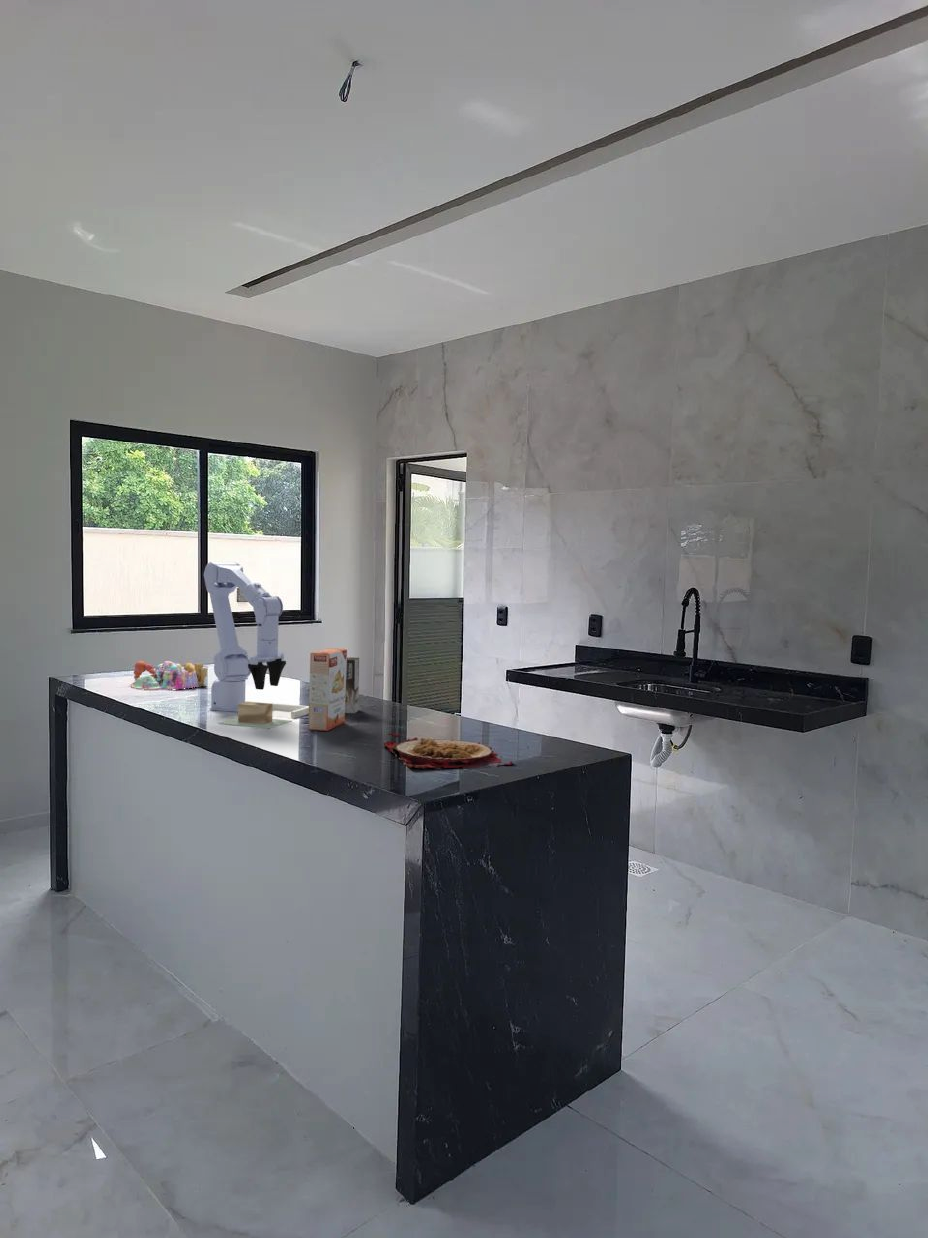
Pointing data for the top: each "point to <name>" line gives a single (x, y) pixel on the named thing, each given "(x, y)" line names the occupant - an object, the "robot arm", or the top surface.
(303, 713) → the shelf slot
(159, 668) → the candy landscape model
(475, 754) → the plate with food
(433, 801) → the top surface
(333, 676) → the cracker box
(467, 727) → the top surface
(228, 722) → the stand mat
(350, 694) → the coffee box
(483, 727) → the top surface
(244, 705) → the oak block
